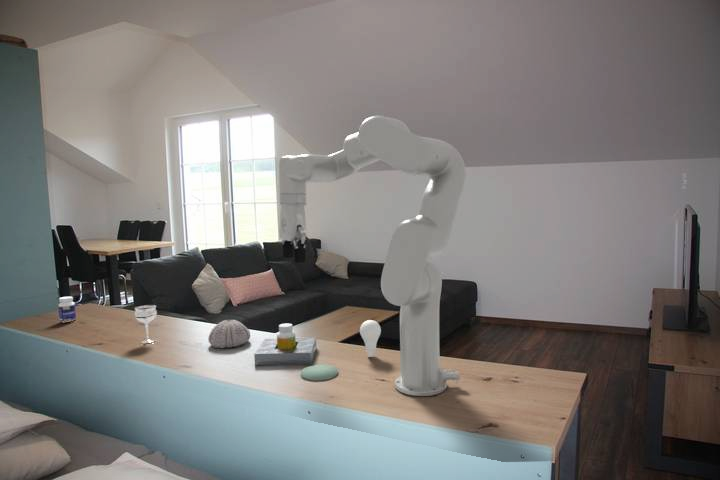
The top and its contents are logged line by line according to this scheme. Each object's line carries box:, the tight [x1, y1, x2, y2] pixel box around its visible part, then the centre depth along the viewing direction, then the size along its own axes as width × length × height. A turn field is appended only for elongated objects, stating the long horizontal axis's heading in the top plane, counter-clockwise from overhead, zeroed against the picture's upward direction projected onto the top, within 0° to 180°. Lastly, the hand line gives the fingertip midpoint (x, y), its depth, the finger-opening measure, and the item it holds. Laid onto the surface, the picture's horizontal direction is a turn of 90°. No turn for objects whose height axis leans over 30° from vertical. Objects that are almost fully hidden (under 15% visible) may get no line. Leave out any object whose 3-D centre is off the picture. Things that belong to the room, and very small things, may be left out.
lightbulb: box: [359, 319, 382, 358], centre depth 140 cm, size 6×6×11 cm
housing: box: [253, 337, 317, 367], centre depth 143 cm, size 16×14×4 cm
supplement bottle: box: [276, 322, 296, 349], centre depth 143 cm, size 5×5×10 cm
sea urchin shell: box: [207, 319, 251, 349], centre depth 157 cm, size 13×14×8 cm
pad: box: [300, 364, 339, 382], centre depth 129 cm, size 10×10×1 cm
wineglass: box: [134, 304, 158, 343], centre depth 161 cm, size 7×7×12 cm
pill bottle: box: [58, 295, 77, 321], centre depth 192 cm, size 6×6×10 cm
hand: (293, 259), depth 138 cm, fingers open, 9 cm apart
